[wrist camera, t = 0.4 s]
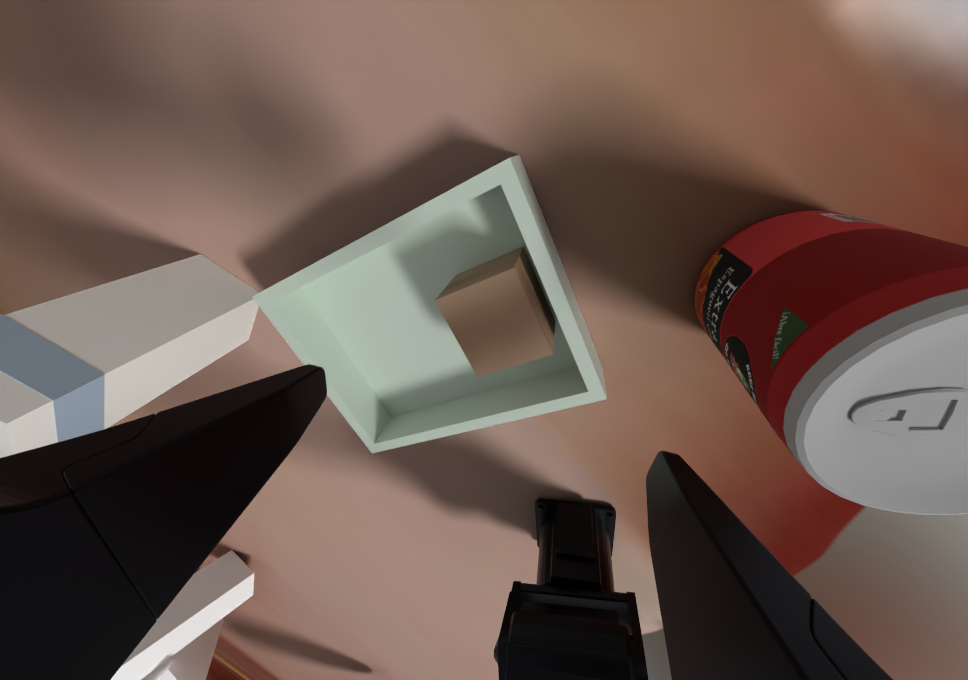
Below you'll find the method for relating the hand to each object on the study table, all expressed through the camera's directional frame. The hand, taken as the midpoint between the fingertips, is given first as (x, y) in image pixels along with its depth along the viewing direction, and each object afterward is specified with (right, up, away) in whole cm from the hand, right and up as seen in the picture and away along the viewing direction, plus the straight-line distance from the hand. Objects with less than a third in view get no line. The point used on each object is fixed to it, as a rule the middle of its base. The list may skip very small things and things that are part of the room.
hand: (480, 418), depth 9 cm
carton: (-20, +5, +18) cm, 27 cm away
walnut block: (+1, +5, +12) cm, 13 cm away
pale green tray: (-3, +3, +15) cm, 15 cm away
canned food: (+15, +5, +10) cm, 19 cm away
